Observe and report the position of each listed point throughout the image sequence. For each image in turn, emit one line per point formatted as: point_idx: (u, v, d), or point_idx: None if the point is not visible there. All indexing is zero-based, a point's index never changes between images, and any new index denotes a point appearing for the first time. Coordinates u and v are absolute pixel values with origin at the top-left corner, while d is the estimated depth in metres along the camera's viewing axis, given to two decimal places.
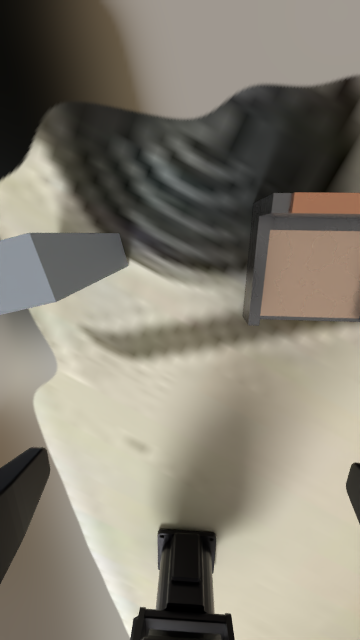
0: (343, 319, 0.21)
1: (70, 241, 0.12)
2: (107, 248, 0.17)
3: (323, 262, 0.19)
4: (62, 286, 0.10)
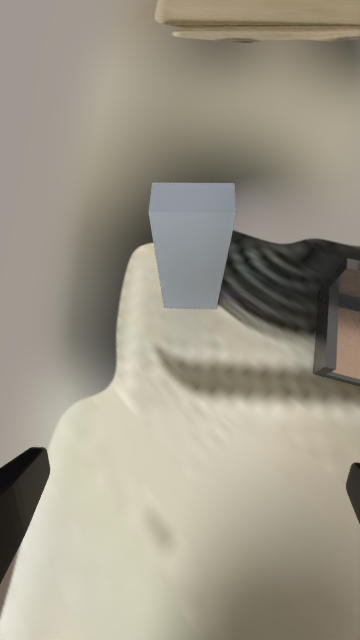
0: None
1: None
2: None
3: None
4: None
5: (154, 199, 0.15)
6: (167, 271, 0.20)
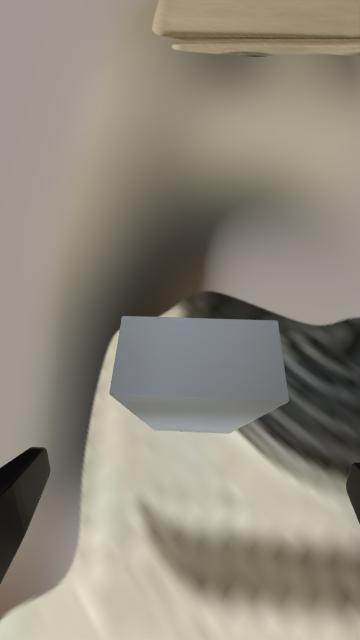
0: None
1: None
2: None
3: None
4: None
5: (123, 358, 0.08)
6: (155, 419, 0.12)
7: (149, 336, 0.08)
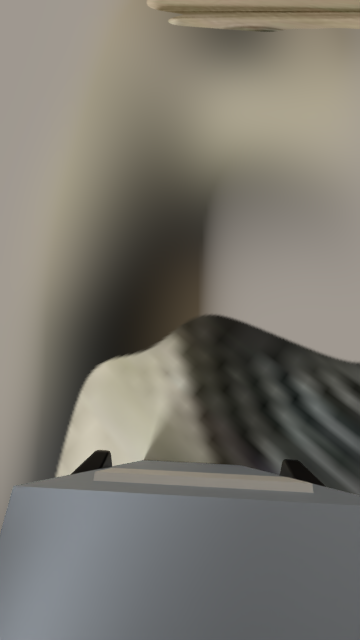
0: None
1: None
2: None
3: None
4: None
5: None
6: None
7: (74, 560, 0.03)
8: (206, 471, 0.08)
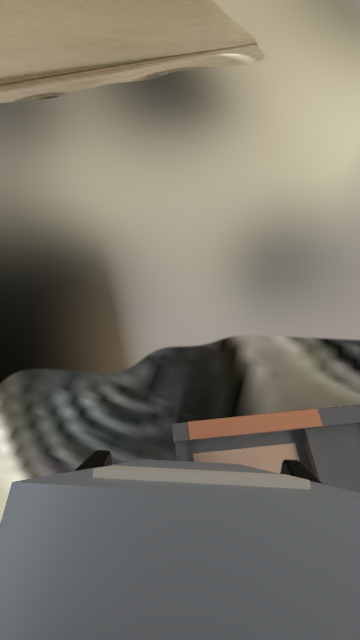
0: None
1: None
2: None
3: None
4: None
5: None
6: None
7: (72, 555, 0.03)
8: (205, 469, 0.08)
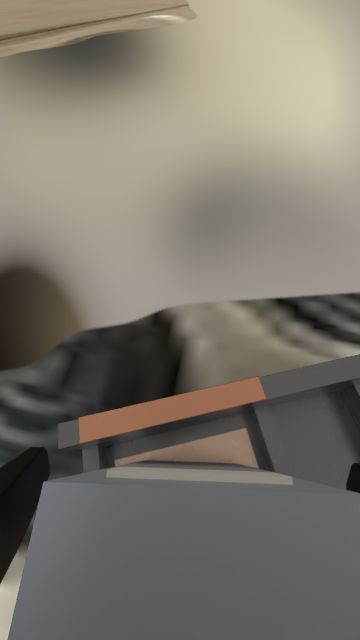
0: None
1: None
2: None
3: None
4: None
5: (33, 607, 0.04)
6: None
7: (95, 539, 0.04)
8: (204, 469, 0.09)
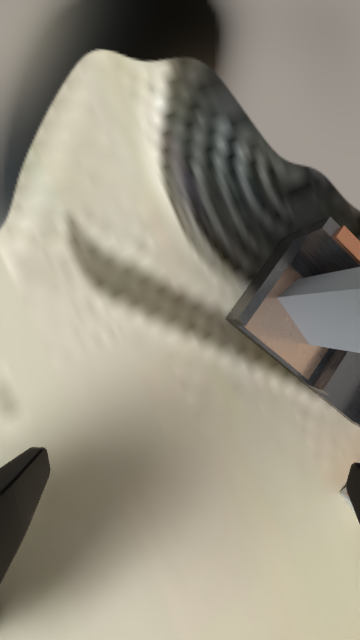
0: (297, 373, 0.22)
1: None
2: None
3: None
4: None
5: None
6: (341, 300, 0.16)
7: None
8: None
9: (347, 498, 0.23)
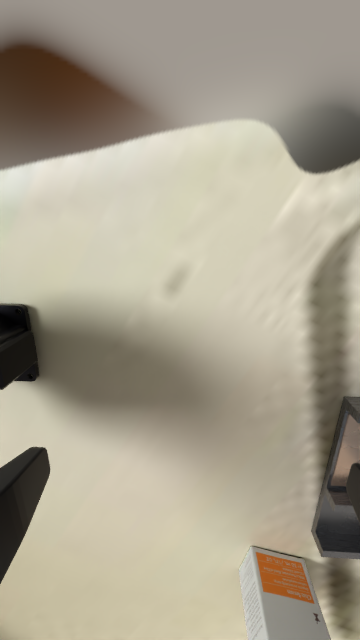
0: (331, 475, 0.23)
1: None
2: None
3: None
4: None
5: None
6: None
7: None
8: None
9: (253, 555, 0.27)
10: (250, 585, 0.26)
